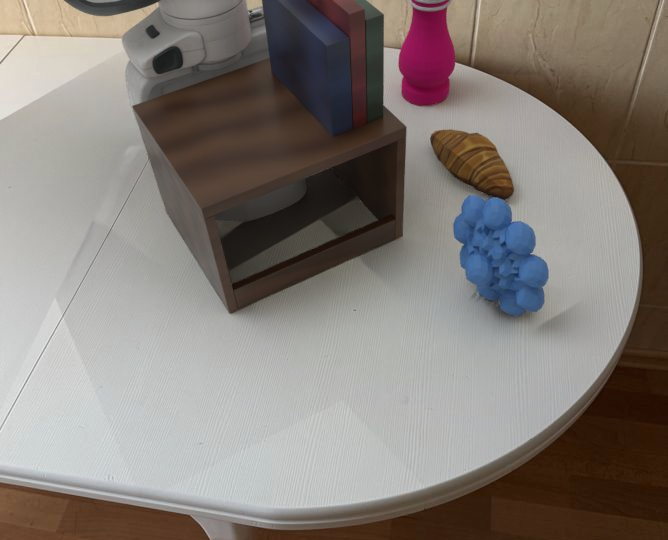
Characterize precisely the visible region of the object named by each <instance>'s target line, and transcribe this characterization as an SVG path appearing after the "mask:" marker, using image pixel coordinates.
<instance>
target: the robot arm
mask: <svg viewBox="0 0 668 540" xmlns="http://www.w3.org/2000/svg"><path fill="white" fill-rule="evenodd" d="M63 1H64V2H65V3H66V4H68V5H69V6H70V7H72V8H73V9H76V10H78V11H79V12H81V13H84V14H86V15H90V16H93V17H94V16H96V17H112V16H117V15H122V14H125V13H129V12H133V11H137V10H141V9H144V8H147V7H149V6H152V5H155V4H158V6H157V7H155V9H153V11H152V12H150V13H149V14H148V15H147V16H146V17H144V18H143V19H142V20H140V21H139V22H138V23H136V24H135V25H133V26H132V27H131V28H129V29H127V31H125V32H124V33H123V34H122V36H121V44H122V47H123V49H124V51H125V54H126V55H127V58H128V62H127V64H126V67H125V73H124V77H125V84H126V85H125V86H126V89H127V91H126V92H127V97H128V100H129V105H130V109H131V113H132V115H133V118H134V120H135V122H136V123H137V120H136V117H135V114H134V111H133V108H132V106H134V105H136V104H139V103H142V102H145V101H148V100H151V99H153V98H156V97H159V96H162V95H165V94H168V93H171V92H173V91H176V90H179V89H182V88H185V87H188V86H191V85H193V84H196V83H199V82H202V81H205V80H208V79H211V78H213V77H216V76H219V75H222V74H225V73H228V72H231V71H233V70H236V69H239V68H242V67H245V66H248V65H251V64H253V63H256V62H259V61H262V60H265V59H268V58H270V57H269V50H268V42H267V35H266V27H265V20H264V12H263V5H261V6H256V7H253V8H251V9H249V8H248V3H247V0H63Z"/></svg>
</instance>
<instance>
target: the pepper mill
mask: <svg viewBox="0 0 668 540" xmlns="http://www.w3.org/2000/svg"><path fill="white" fill-rule="evenodd" d="M408 3H409V5H410V6H411V8H412V16H411V23H410V26H409V30H408V31H407V33H406V37H405V39H404V40H403V43H402V45H401V47H400V50H399V54H398V63H397V64H398V70H399V72H400V74H401V75H402V78H401V95H402V97H403V98H404V99H405V101H407V102H408V103H410V104H413V105H416V106H421V107H423V106H425V107H426V106H427V107H428V106H429V107H430V106H434V105H437V104H439V103H442V102H444V101H445V99H447V98H448V96H449V93H450V84H451V80H450V76H451V75H452V74H453V72H454V70H455V67H456V52H455V46H454V44H453V43H454V42H453V41H452V38H451V35H450V32H449V28H448V22H447V21H448V20H447V19H448V18H447V16H448V15H447V13H448V7H449V6H450V5H451V3H452V0H408Z"/></svg>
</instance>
